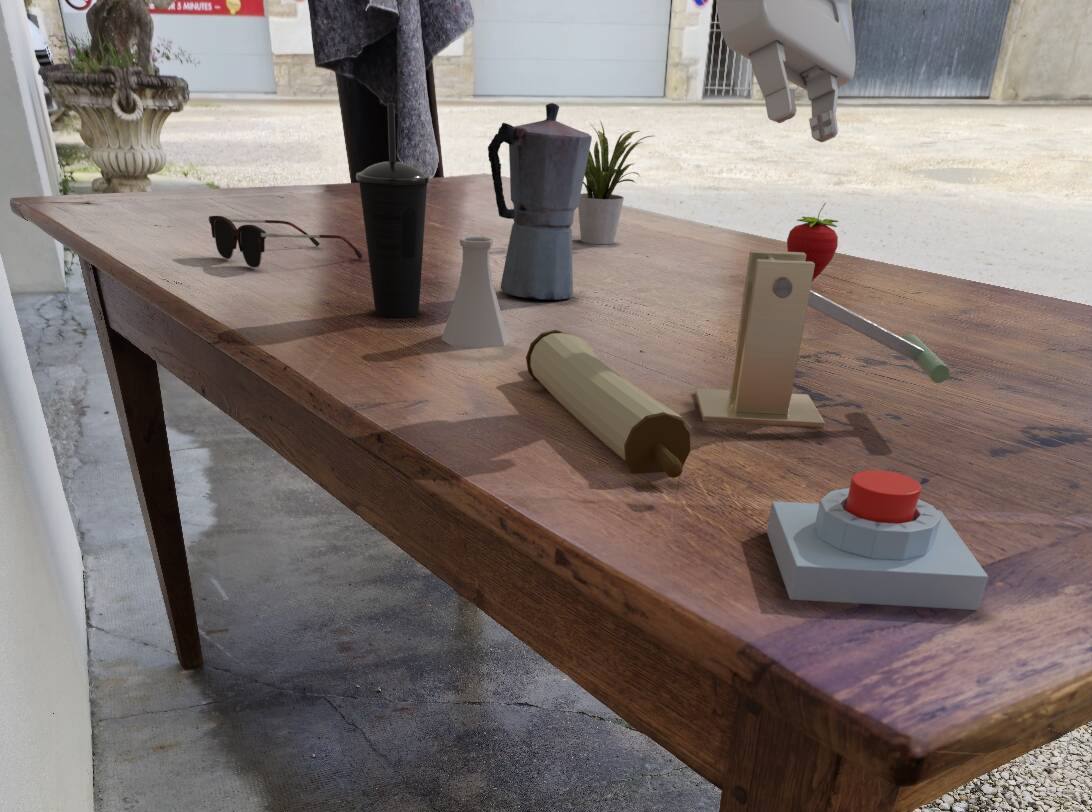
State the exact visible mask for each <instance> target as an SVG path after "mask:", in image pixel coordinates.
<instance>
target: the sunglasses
mask: <svg viewBox="0 0 1092 812" xmlns="http://www.w3.org/2000/svg"><path fill="white" fill-rule="evenodd" d="M207 219H208V223H209V224H210V228H211V237H212V238H213V239H214V240H215V246H216V250H217V253H218V255H219V256H221V257H222V258H223V259H225V260H230V259H232V258H233V255H234V251H235V250H236V249H237V247H238V248H239V252H241V253H242V255H243V259H244V262H245V264H246V265H247V266H248V267H250V268H253V269H256V268H259V267H260V266H261V263H262V257H263V253H265V250H266V249H265V247H266V246H265V243H266V241H265V239H266V238H299V239H301V238H303V239H305V238H307V239H309V241H311V242H312V244H313V245H314V246H315V247H319V245H320V244H321V243H320V242H319V241H318V240H317V239H338V240H342V241H344V242H345V243H346V244H347V245H348V246H349V247H350V248H351V249H352V250H353V252H354V253H355V255H356V257H357V258H358V259H359V260H361V259H362V258H363V254H362V253H361V251H360V250H359V249H358V248H357V247H356V246H354V244H353V243H352V242H351V241H350V240H349V239H347V237H344V236H342V235H336V234H309V233H307V232H306V231H305V230H303V229H302V228H300V227H299V226H298V225H296V224H295V223H292V222H290V221H286V220H279V219H278V220H277V219H243V218H242V219H240V218H227V217H226V216H224V215H210V216H208V218H207ZM234 223H252V224H243V225H240V226H239V227H236V225H235V224H234ZM253 223H254V224H253ZM255 223H256V224H282V225H288V226H290V227H292V228H294V229H295V230H297V231H298V232H300V233H301V234H296V233H295V234H294V233H277V232H266V231H265V230H264V229H262V228H261V227H260V226H258V225H255Z"/></svg>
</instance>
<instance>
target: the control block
mask: <svg viewBox="0 0 1092 812" xmlns="http://www.w3.org/2000/svg"><path fill="white" fill-rule="evenodd" d="M849 489H850V487H846V488H840V489H835V490H830V491H829V492H828V493H827V494H825V495H824V496H822V497H821V498H820V500H819V503H813V502H812V503H811V502H810V503H809V502H795V501H793V502H792V501H777V500H776V501H775V500H773V501H772V502H771V505H770V510H769V516H768V522H767V528H766V535H767V537H768V540H769V543H770V546H771V549H772V551H773V552H772V553H773V555H774V558H775V561H776V563H777V566H778V569H779V572H780V576H781V579H782V581H783V583H784V587H785V589H786V592H787V595H788V598H789V600H791V601H806V602H807V601H809V602H825V603H828V602H829V603H844V604H858V605H859V604H861V605H879V606H895V607H911V608H928V609H929V608H930V609H948V610H966V611H978V610H979V608H980V604H981V602H982V598H983V596H984V592H985V589H986V585H987V583H988V580H989V575H988V574H987V572H986V571H985V569H983V567H982V566H981V564H980V563H979V561H978V560H977V559H976V558H975V556H974V554H973V553H972V552H971V551H970V549H969V548H968V546H967V544H966V543H965V542H964V540H963V539H962V538H961V536H960V535H959V534H958V532H957V531H956V529H955V528H954V527H953V525H952V524H951V522H950V521H949V519H948V518H947V517H946V516H945V515H944V513H943V511H942V510H938V509H936V508H935V506H933V505H932V504H930V503H928V502H926V501H924V500H922V499H919V498H918V502H917V506H916V510H915V513H914V517H913V520H912V521H911V522H906V523H901V524H896V523H878V522H873V521H869V520H865V519H861V518H858V517H856V516H855V515H853V514H851V513H849V512H847V511H845V507H846V502H847V498H848V493H849Z"/></svg>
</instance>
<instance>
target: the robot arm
mask: <svg viewBox="0 0 1092 812" xmlns="http://www.w3.org/2000/svg"><path fill="white" fill-rule="evenodd" d="M715 1H716V2H715V3H716V8H717V16H718V17H717V18H718V24H719V29H720V32H721V35H722V38H723V40H724V42H725V44H726V47H727V48H728V49H729V50H731V51H732V52H734V53H736V54H738V55H740V56H741V57H742V56H743V57H744V58H746V59H747V60H749V61H751V66H752V72H753V74H754V77H755V79H756V82H757V85H758V86H759V88H760V92H761V94H762V96H763V97H764V101H765V109H766V115H767V118H768V119H769V120H770V121H771V122H775V123H778V124H781V123H785V121H789V120H791V119H793V118H794V117H795V116H796V113H797V106H796V99H795V98H796V97H795V92H794V90H792V89H791V87H790V84H789V82H790V83H792V84H794V85H796V86H797V87H799V88H801V89H802V90H805V91H806V93H807V98H808V100H809V101H810V104H811V105H810V106H811V107H810V108H811V117H810V118H808V121H809V128H810V131H811V132H810V133H811V138H812V139H813V140H814V141H817V142H819V143H825V142H827V141H829V140H832V139H833V138H836V136H837V135H838V132H839V128H838V120H837V109H838V108H837V107H838V100H839V88H842V87H843V86H845V85H847V84H849V83H851V82H852V81H853V79H854V76H855V71H856V64H857V63H856V62H857V61H856V59H857V58H856V56H857V55H856V43H855V32H854V31H855V29H854V21H853V12H852V11H853V9H852V1H851V0H715Z"/></svg>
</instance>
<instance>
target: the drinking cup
mask: <svg viewBox="0 0 1092 812" xmlns="http://www.w3.org/2000/svg"><path fill="white" fill-rule="evenodd" d="M386 105H387V130H388V131H387V132H388V133H387V134H388V161H382V162H378V163H377V162H376V163H374V164H372V165H369V166H368V167H366V168H364V169H363V170H362V171H359V172H356V175H355V178H356V180H357V181H358V185H359V191H360V200H361V207H362V216H363V223H364V230H365V232H364V233H365V240H366V248H367V256H368V257H367V258H368V264H369V272H370V279H371V287H372V296H373V302H374V305H373V306H374V312H375V314H376V315H377V316H380V317H384V318H391V319H407V318H413V317H416V316H418V315H419V313H420V299H421V285H422V268H423V254H424V237H425V222H426V206H427V193H428V192H427V190H428V184H429V183H430V179H431V178H430V177H431V176H430V175H428V174H427V173H424V172H422V170H420V169H419V168H417V167H416V166H413V165H411V164H408V163H405V162H401V161H397V156H396V155H397V154H396V151H397V149H396V125H395V124H396V120H395V119H396V118H395V116H396V115H395V103H392V102H387V104H386Z"/></svg>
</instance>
